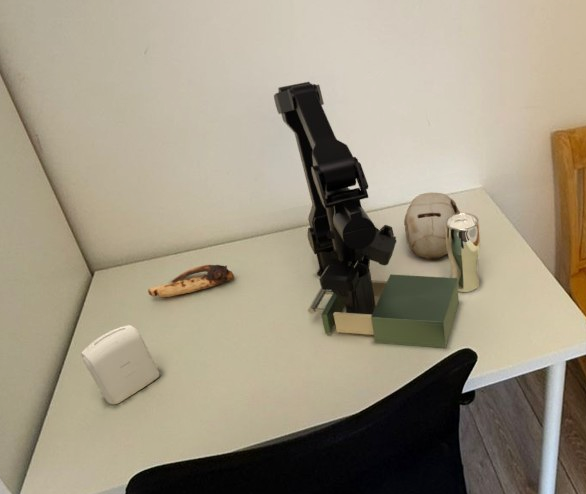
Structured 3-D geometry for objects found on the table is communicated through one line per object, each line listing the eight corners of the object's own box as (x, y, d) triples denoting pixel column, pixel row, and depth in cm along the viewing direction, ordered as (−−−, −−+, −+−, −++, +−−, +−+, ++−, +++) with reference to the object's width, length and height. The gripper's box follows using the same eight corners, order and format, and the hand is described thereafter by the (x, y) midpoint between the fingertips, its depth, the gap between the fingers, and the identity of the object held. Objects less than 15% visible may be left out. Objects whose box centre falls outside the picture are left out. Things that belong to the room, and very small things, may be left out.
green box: (375, 342, 121) (370, 317, 117) (393, 299, 131) (390, 274, 127) (445, 348, 118) (443, 322, 114) (458, 303, 128) (457, 278, 124)
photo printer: (113, 409, 112) (84, 356, 104) (101, 398, 114) (71, 346, 106) (164, 376, 117) (140, 324, 110) (152, 367, 120) (127, 315, 112)
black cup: (343, 319, 124) (334, 279, 118) (351, 301, 128) (344, 262, 122) (371, 321, 123) (364, 280, 117) (379, 303, 127) (372, 263, 121)
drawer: (305, 332, 123) (300, 313, 120) (327, 293, 133) (323, 275, 130) (388, 338, 120) (385, 319, 117) (404, 298, 130) (402, 279, 127)
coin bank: (441, 217, 156) (439, 169, 146) (482, 252, 145) (483, 203, 136) (386, 240, 150) (380, 191, 141) (424, 278, 140) (421, 229, 130)
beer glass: (479, 294, 130) (476, 230, 121) (445, 292, 131) (441, 229, 122) (483, 275, 135) (481, 212, 126) (451, 274, 137) (447, 211, 127)
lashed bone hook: (232, 267, 146) (151, 286, 142) (227, 249, 143) (144, 268, 139) (237, 287, 139) (151, 307, 135) (231, 268, 136) (144, 288, 132)
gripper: (374, 252, 104) (385, 326, 114) (401, 199, 118) (409, 269, 128) (311, 249, 107) (327, 322, 117) (345, 197, 121) (357, 266, 131)
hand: (358, 293), depth 123 cm, fingers open, 9 cm apart
